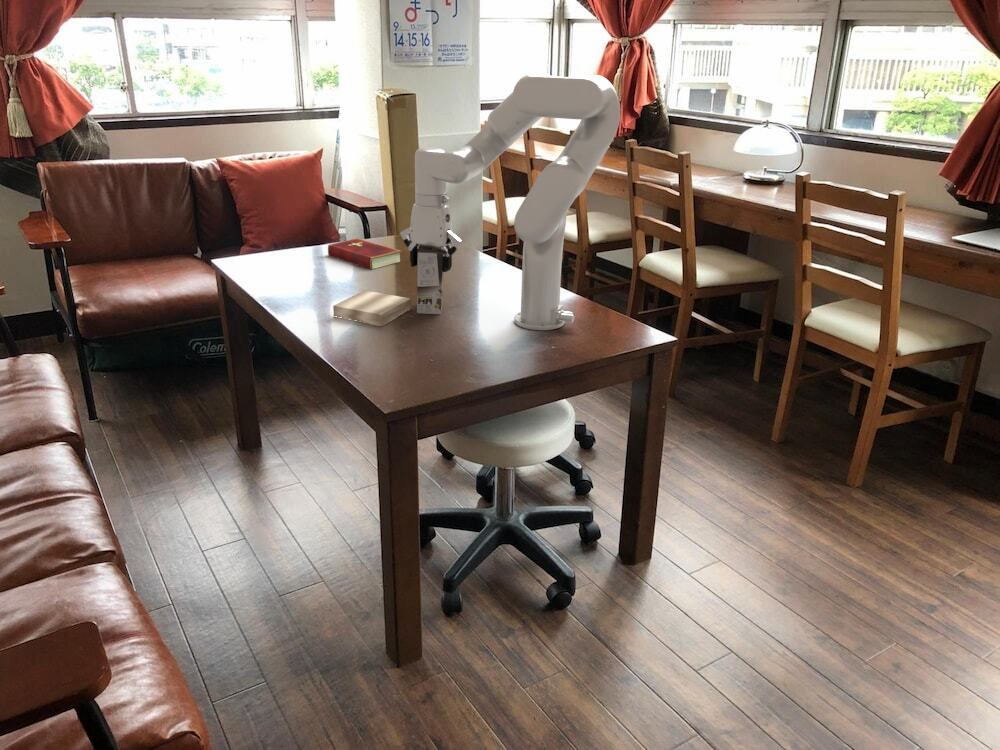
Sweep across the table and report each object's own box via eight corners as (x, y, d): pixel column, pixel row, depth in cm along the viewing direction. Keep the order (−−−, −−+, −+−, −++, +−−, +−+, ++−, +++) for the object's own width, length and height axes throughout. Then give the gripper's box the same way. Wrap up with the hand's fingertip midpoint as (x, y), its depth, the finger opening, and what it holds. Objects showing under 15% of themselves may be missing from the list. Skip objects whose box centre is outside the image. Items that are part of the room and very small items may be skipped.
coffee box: (441, 314, 206) (442, 253, 200) (416, 313, 206) (416, 251, 200) (443, 303, 215) (444, 243, 208) (419, 302, 215) (419, 242, 208)
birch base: (410, 309, 210) (410, 298, 208) (381, 326, 198) (381, 314, 197) (365, 301, 215) (364, 290, 214) (333, 317, 203) (333, 305, 202)
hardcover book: (371, 270, 242) (370, 257, 240) (328, 257, 254) (327, 243, 253) (401, 263, 250) (401, 249, 248) (358, 250, 263) (357, 237, 261)
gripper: (469, 201, 199) (468, 269, 206) (407, 193, 205) (408, 259, 213) (454, 207, 193) (454, 277, 200) (392, 198, 199) (393, 266, 206)
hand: (430, 267), depth 206 cm, fingers closed on coffee box, 8 cm apart
